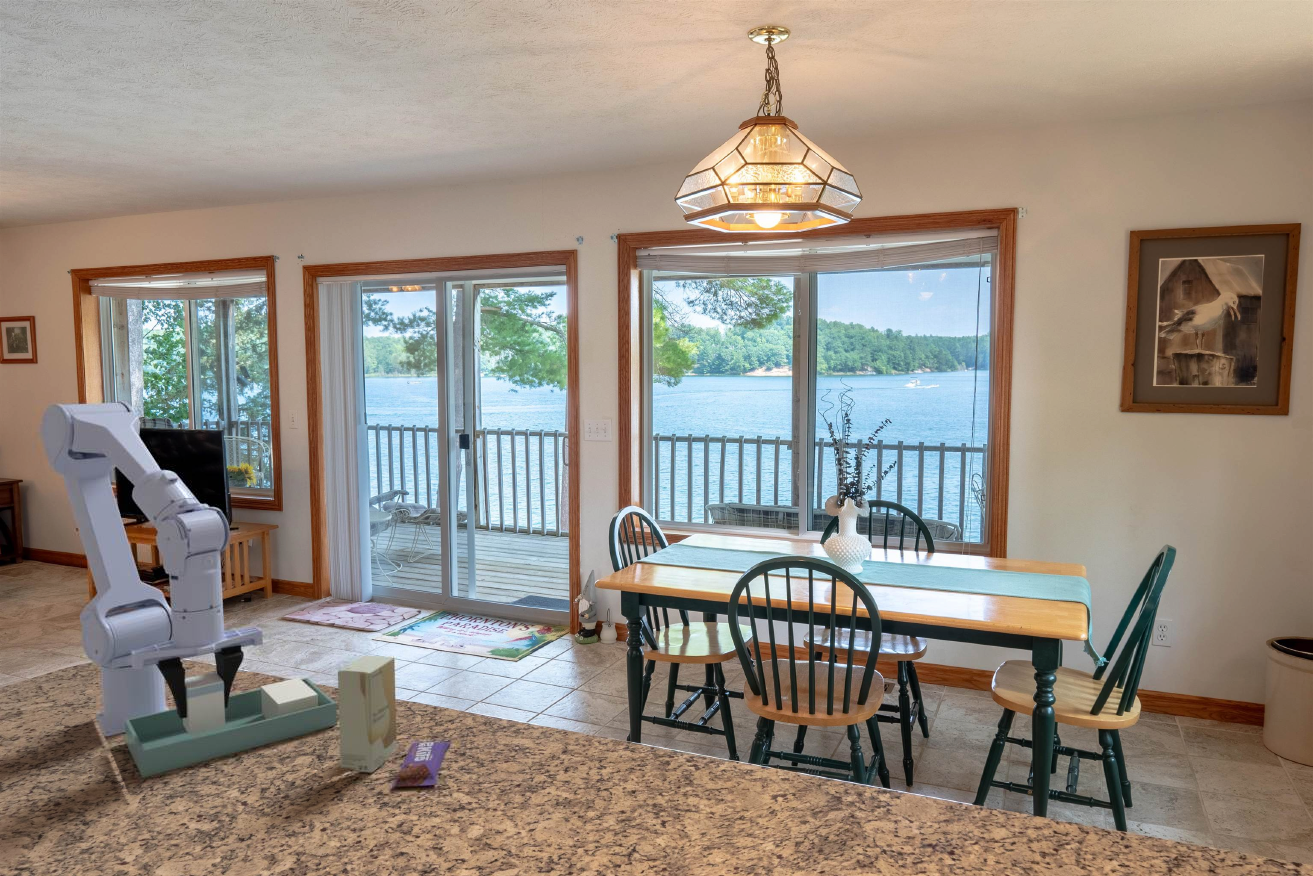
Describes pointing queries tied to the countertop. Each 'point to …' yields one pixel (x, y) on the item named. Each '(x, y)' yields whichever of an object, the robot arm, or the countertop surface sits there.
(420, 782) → the snack package
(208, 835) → the countertop surface
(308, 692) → the white box
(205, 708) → the milk carton
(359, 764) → the skincare box
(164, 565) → the robot arm
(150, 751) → the tray
